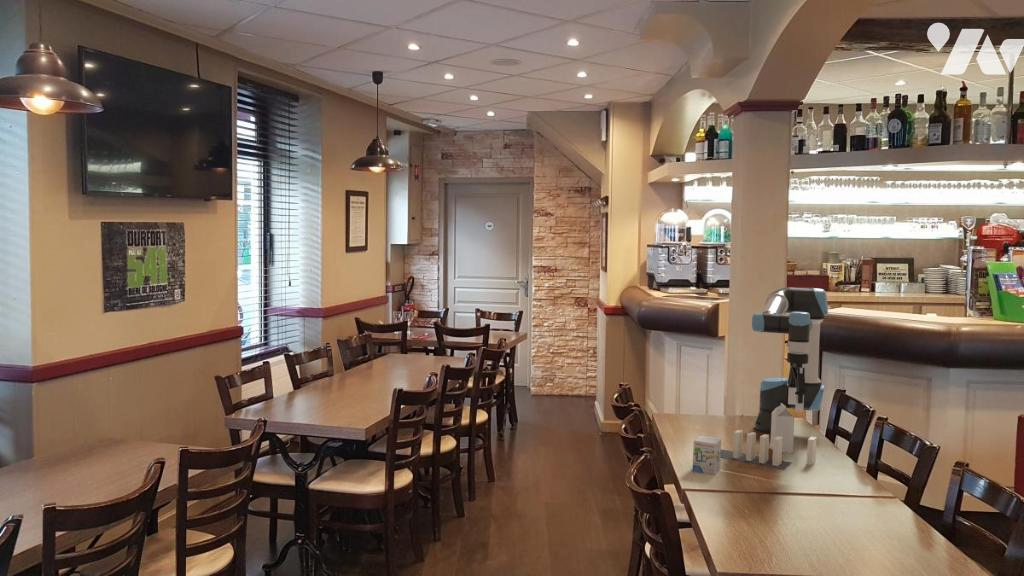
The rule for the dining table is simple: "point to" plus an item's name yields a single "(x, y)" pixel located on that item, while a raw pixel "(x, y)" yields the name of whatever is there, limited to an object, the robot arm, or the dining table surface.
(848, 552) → the dining table surface
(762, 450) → the domino
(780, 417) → the milk carton
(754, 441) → the domino
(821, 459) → the dining table surface
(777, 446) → the domino
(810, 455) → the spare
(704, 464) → the ink box
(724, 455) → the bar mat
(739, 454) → the domino
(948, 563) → the dining table surface
